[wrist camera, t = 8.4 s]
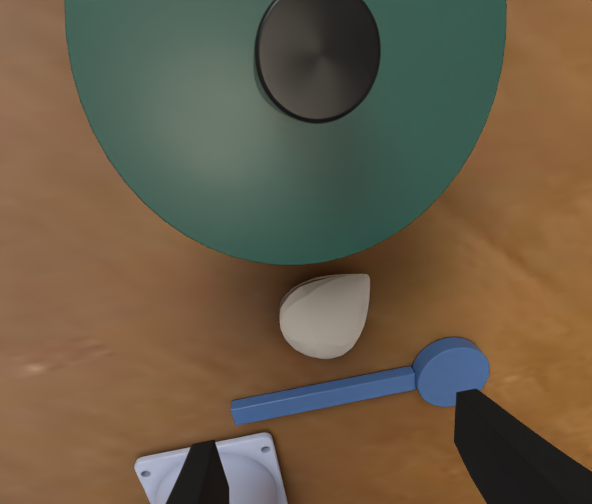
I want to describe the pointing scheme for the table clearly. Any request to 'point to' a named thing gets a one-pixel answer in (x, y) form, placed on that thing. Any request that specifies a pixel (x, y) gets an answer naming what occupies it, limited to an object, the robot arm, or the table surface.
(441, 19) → the saucepan lid
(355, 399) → the blue spoon
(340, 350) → the cream teardrop shape
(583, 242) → the table surface
